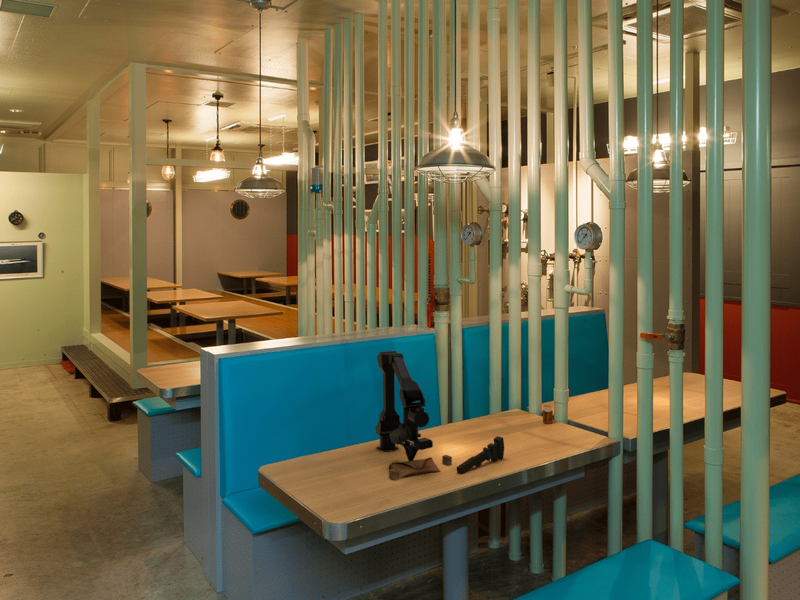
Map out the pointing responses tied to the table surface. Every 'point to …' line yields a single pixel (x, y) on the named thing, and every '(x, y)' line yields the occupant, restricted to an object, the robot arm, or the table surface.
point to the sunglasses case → (415, 467)
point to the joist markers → (395, 473)
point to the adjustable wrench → (484, 455)
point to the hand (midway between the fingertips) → (410, 462)
